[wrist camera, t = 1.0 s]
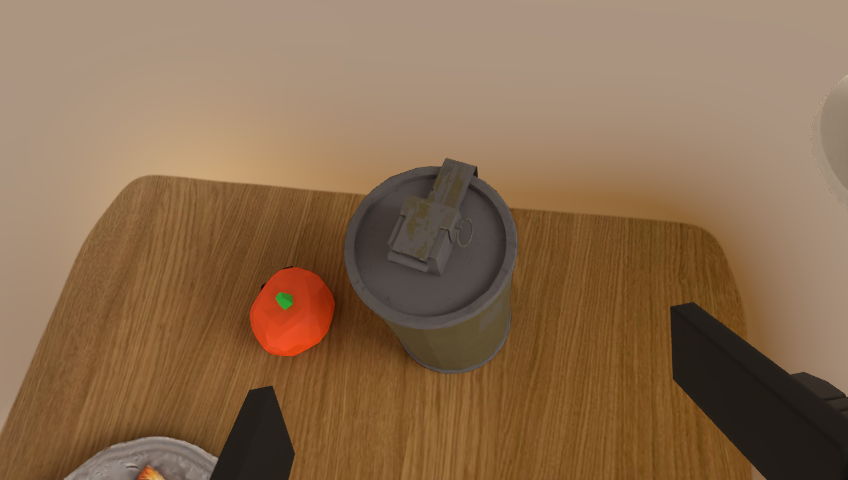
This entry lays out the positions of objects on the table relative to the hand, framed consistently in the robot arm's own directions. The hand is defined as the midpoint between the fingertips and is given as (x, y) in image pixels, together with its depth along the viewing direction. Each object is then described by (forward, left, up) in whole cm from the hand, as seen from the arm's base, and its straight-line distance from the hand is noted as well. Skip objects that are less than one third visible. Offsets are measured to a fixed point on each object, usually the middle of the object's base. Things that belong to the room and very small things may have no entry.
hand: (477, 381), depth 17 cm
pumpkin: (+15, -12, -28) cm, 34 cm away
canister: (+1, -10, -28) cm, 30 cm away
